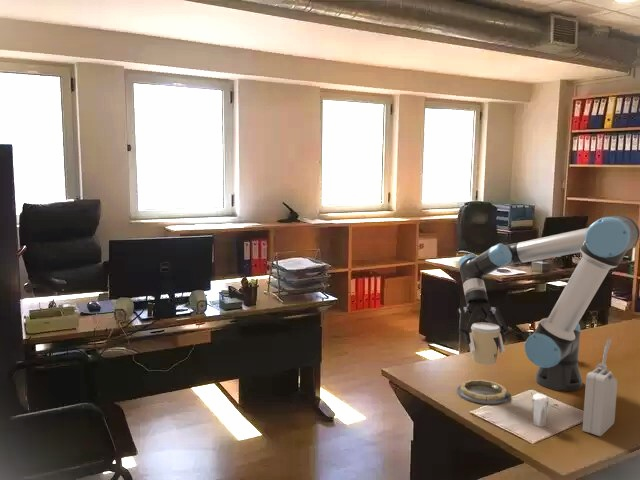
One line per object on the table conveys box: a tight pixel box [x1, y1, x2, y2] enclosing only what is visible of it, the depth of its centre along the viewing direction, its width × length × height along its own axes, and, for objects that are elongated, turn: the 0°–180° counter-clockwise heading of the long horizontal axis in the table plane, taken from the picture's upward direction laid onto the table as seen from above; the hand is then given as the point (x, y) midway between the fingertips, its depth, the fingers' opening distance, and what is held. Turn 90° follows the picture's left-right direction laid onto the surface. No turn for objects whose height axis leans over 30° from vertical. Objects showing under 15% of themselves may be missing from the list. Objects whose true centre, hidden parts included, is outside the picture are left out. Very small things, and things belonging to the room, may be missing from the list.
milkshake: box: [530, 392, 550, 427], centre depth 162 cm, size 5×5×10 cm
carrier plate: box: [456, 379, 511, 406], centre depth 184 cm, size 17×17×2 cm
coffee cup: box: [470, 321, 500, 365], centre depth 183 cm, size 9×9×12 cm
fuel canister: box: [582, 338, 618, 437], centre depth 161 cm, size 15×5×25 cm, turn 135°
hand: (487, 352), depth 180 cm, fingers closed on coffee cup, 9 cm apart
